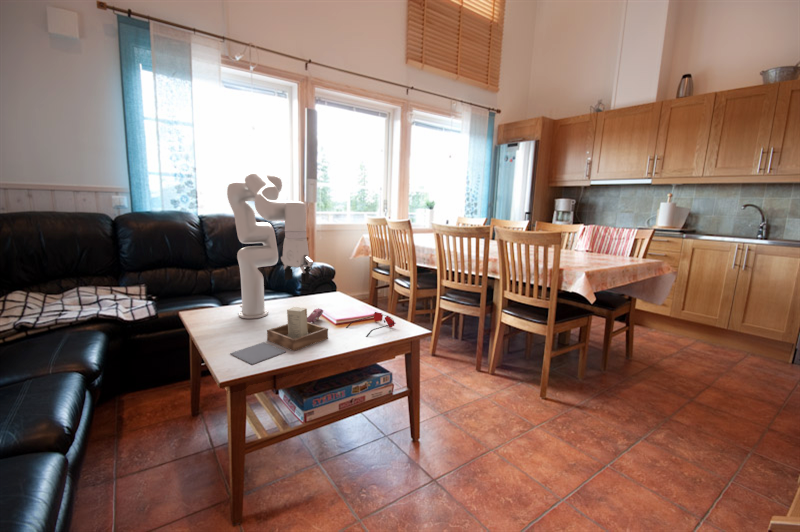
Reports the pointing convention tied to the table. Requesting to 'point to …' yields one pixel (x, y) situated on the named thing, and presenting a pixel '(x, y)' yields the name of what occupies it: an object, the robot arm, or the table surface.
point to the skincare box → (297, 322)
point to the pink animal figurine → (314, 315)
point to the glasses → (379, 317)
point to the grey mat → (257, 353)
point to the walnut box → (279, 338)
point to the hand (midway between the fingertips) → (297, 281)
